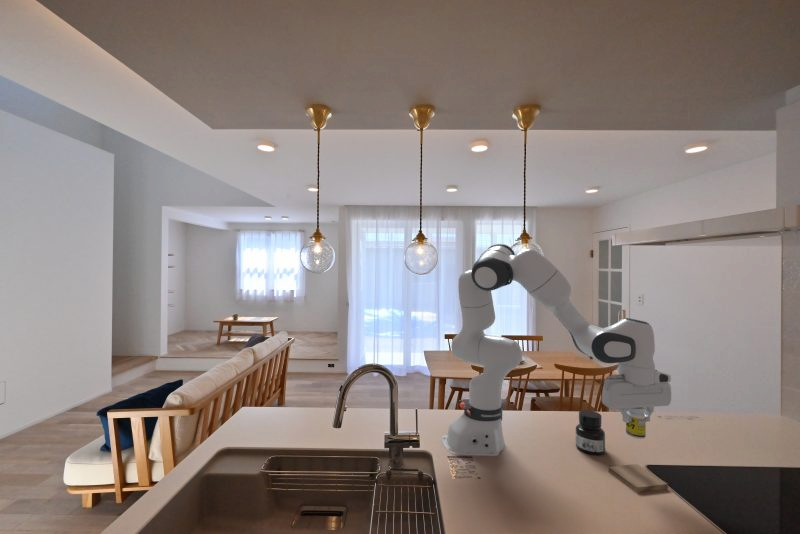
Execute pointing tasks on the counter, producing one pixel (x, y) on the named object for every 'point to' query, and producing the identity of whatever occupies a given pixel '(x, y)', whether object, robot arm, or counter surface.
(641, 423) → the supplement bottle
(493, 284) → the robot arm
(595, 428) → the ink bottle
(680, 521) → the counter surface
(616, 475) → the tan slab
